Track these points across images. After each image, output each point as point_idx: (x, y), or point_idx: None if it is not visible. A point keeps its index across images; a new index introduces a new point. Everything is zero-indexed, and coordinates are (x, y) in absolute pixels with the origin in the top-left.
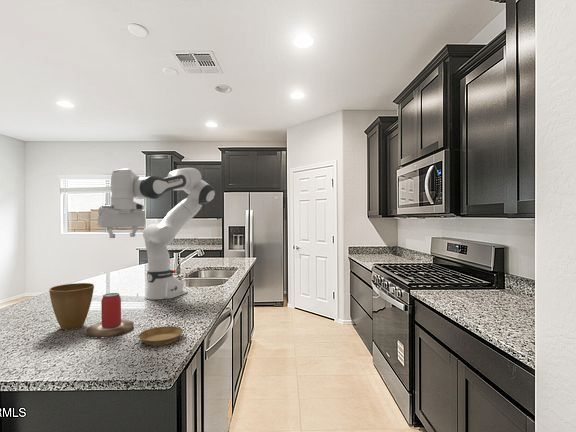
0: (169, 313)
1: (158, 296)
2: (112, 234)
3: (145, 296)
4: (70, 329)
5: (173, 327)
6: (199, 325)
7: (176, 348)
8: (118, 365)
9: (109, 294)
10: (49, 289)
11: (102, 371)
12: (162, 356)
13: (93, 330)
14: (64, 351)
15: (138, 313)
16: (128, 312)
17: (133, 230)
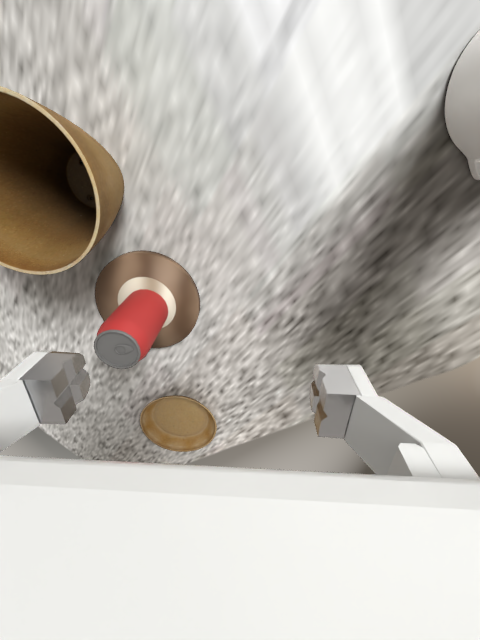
0: (310, 318)
1: (463, 137)
2: (32, 419)
3: (475, 40)
4: (84, 203)
5: (213, 419)
6: (267, 423)
7: (171, 453)
8: (90, 432)
9: (119, 334)
10: None
11: (68, 430)
12: (142, 455)
13: (108, 296)
14: (44, 328)
15: (275, 239)
16: (269, 197)
17: (384, 439)
